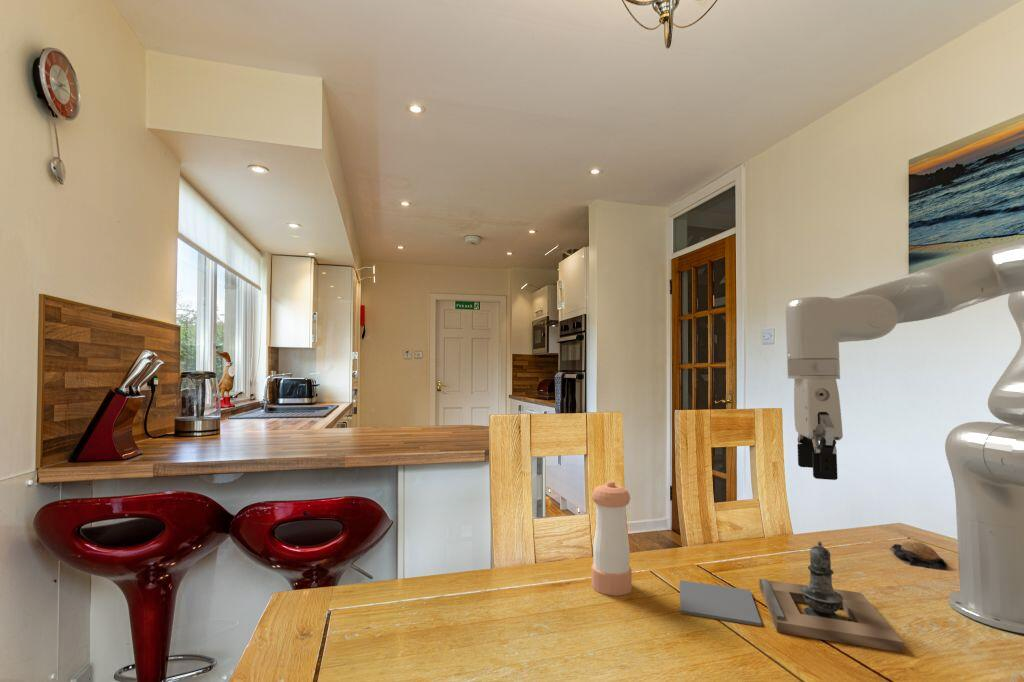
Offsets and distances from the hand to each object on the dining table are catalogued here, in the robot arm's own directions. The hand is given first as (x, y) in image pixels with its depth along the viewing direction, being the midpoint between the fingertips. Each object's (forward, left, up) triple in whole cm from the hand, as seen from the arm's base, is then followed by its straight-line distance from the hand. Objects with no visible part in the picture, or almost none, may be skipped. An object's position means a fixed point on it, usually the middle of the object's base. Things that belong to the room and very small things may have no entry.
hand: (816, 472), depth 79 cm
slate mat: (+16, +1, -23) cm, 28 cm away
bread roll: (-27, -35, -24) cm, 50 cm away
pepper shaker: (+34, +1, -23) cm, 41 cm away
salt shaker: (0, 0, -23) cm, 23 cm away
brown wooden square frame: (0, 0, -23) cm, 23 cm away
